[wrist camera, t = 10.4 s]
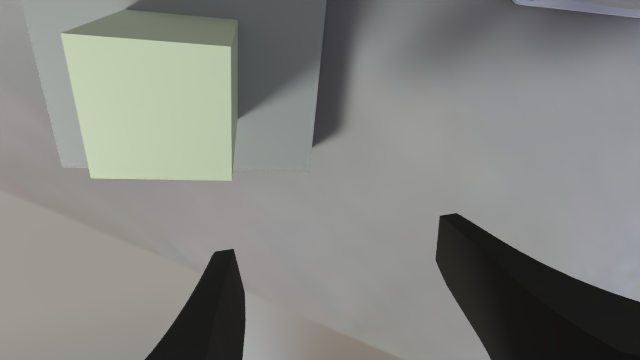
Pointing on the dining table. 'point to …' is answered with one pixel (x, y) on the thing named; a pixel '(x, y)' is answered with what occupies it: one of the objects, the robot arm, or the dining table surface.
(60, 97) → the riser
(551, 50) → the dining table surface
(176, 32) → the green block
